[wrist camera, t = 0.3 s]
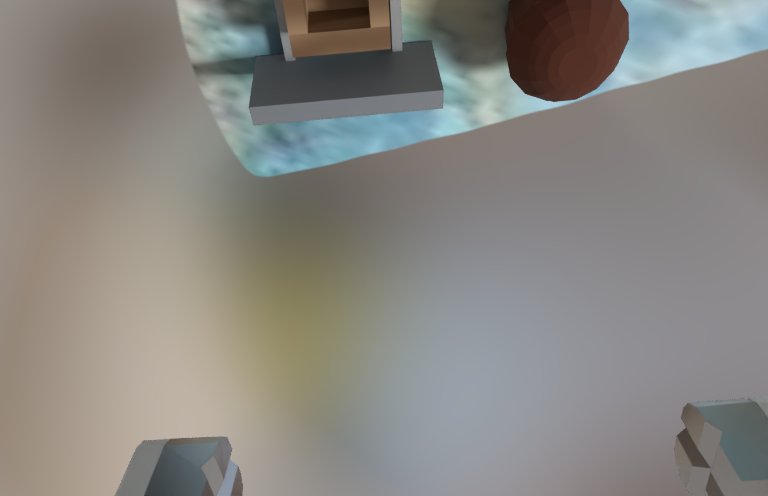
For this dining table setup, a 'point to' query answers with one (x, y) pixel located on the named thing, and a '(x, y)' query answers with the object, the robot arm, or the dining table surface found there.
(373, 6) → the socket block
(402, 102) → the backstop
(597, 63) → the muffin
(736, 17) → the dining table surface
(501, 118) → the dining table surface
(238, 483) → the robot arm
